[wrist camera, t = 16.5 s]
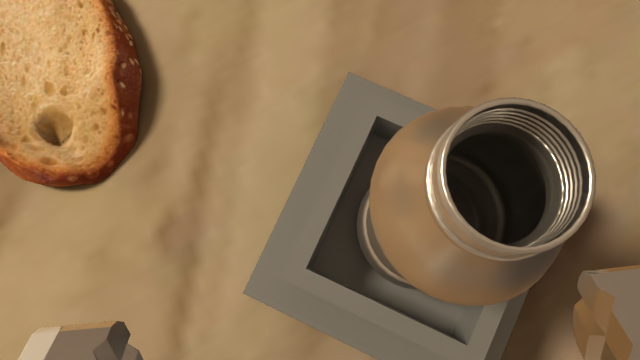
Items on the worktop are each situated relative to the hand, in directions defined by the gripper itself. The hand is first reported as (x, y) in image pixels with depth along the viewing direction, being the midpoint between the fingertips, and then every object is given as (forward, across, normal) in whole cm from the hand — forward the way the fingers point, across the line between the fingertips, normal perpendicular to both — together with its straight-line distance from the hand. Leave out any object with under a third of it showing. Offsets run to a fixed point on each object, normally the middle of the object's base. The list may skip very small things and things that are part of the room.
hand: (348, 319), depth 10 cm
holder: (+19, -3, +14) cm, 24 cm away
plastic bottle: (+18, -3, +14) cm, 23 cm away
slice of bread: (+29, +21, +3) cm, 36 cm away
